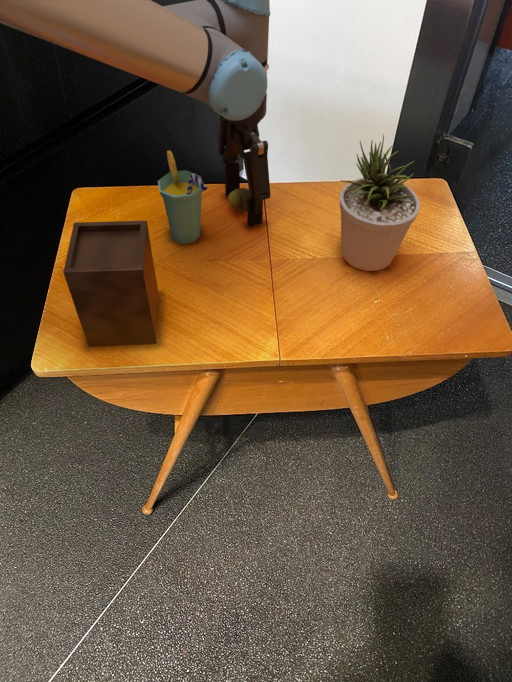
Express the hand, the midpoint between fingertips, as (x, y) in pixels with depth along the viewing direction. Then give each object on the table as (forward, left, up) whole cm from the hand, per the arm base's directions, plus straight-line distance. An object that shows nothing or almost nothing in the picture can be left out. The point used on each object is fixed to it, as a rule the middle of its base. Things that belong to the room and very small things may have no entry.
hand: (243, 209), depth 102 cm
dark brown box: (-28, -17, 0) cm, 33 cm away
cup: (-12, -3, 0) cm, 13 cm away
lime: (0, 0, 0) cm, 0 cm away
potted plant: (+15, -20, 0) cm, 25 cm away
